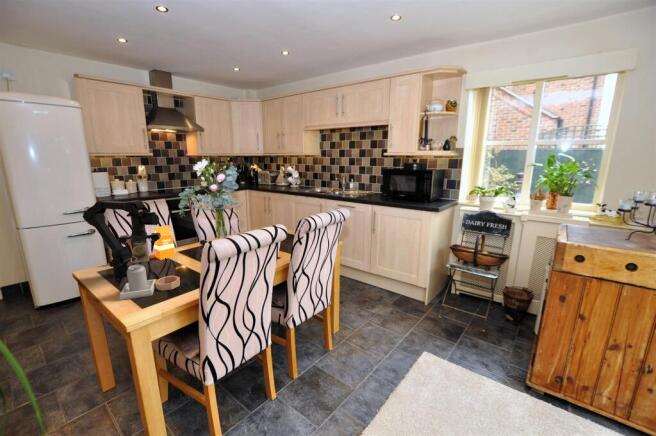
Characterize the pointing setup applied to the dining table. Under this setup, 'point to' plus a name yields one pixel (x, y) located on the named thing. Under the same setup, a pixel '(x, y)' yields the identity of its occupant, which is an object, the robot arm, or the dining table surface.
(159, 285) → the collar
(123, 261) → the robot arm
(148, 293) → the tray
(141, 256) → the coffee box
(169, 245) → the orange juice
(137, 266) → the can
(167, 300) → the dining table surface
